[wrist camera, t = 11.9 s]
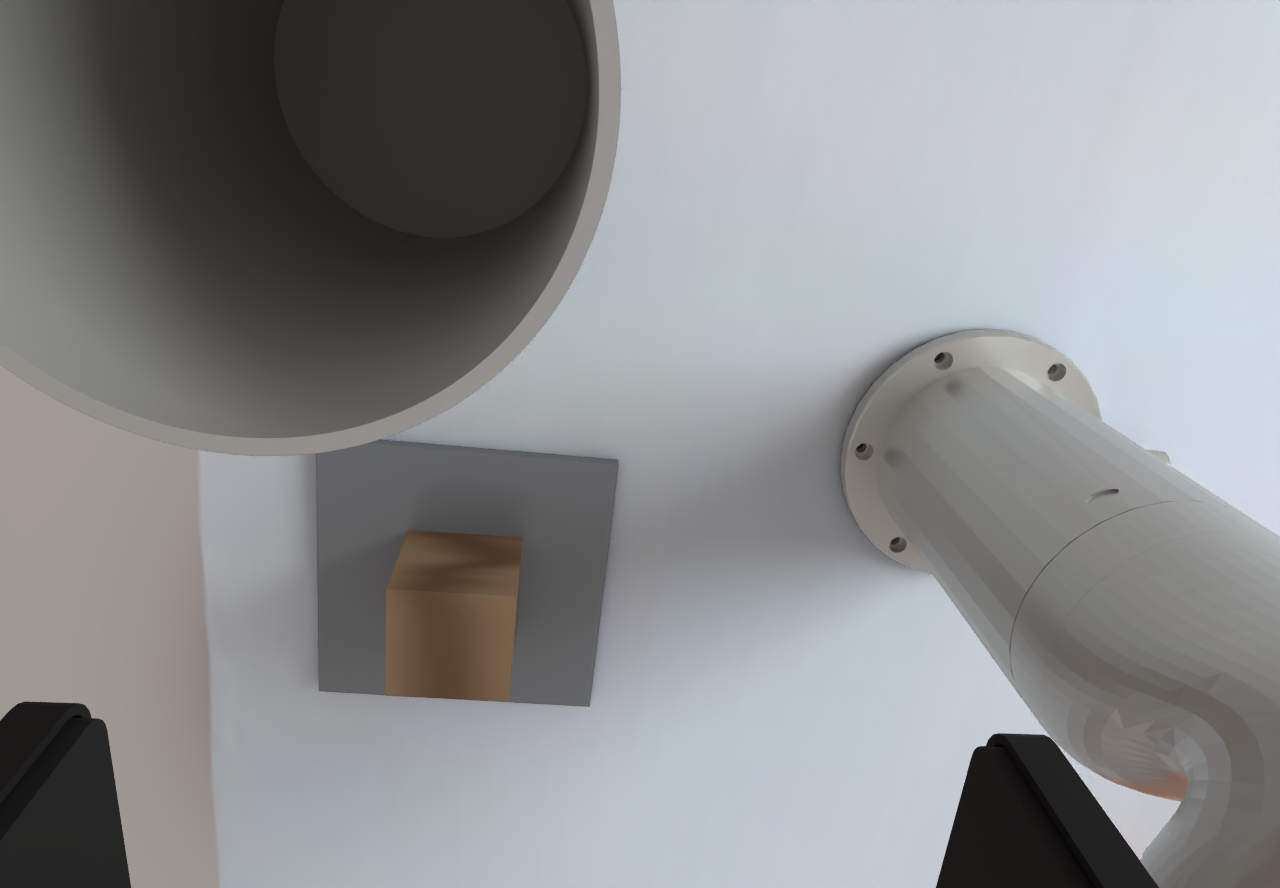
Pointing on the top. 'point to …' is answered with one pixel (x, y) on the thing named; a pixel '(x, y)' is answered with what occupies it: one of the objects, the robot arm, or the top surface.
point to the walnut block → (453, 616)
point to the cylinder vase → (293, 206)
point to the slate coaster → (469, 504)
